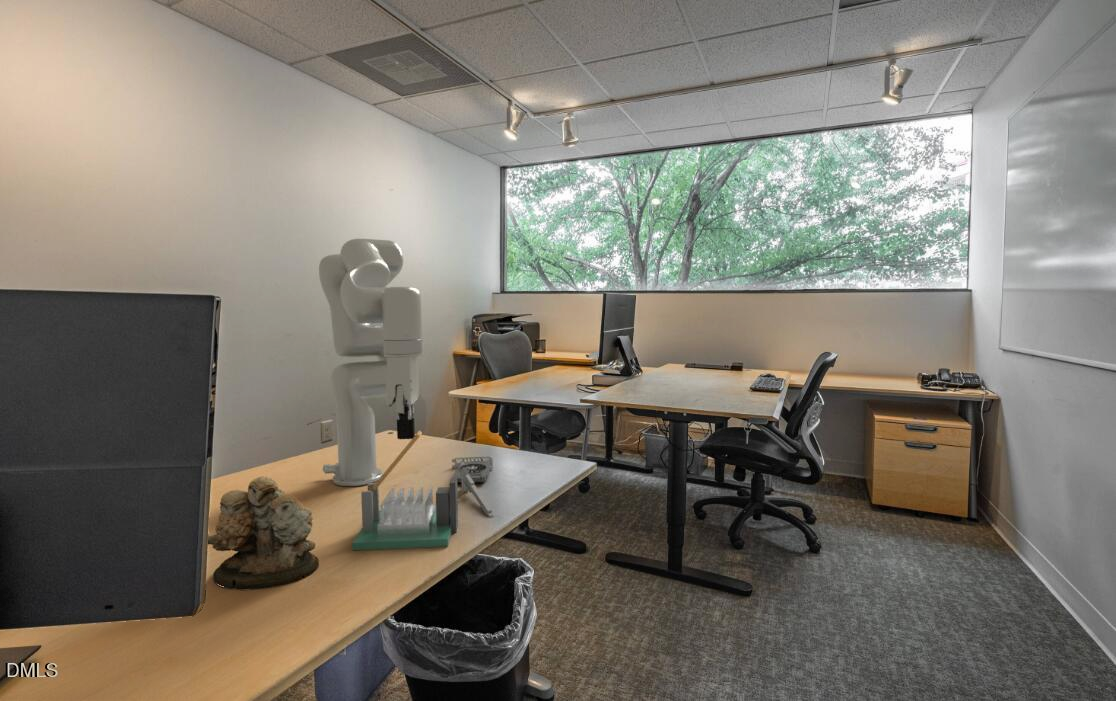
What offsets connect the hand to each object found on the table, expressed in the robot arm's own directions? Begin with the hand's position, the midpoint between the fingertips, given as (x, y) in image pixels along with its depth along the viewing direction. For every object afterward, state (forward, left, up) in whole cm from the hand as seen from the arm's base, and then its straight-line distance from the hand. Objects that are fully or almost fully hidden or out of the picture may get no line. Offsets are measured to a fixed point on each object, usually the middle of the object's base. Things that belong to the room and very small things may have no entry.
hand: (406, 437), depth 108 cm
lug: (+7, 0, -20) cm, 21 cm away
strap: (-2, 0, -6) cm, 6 cm away
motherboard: (0, 0, -20) cm, 20 cm away
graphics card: (+10, +35, -21) cm, 42 cm away
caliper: (+13, +15, -20) cm, 28 cm away
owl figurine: (-22, -15, -20) cm, 33 cm away
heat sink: (0, 0, -18) cm, 18 cm away
